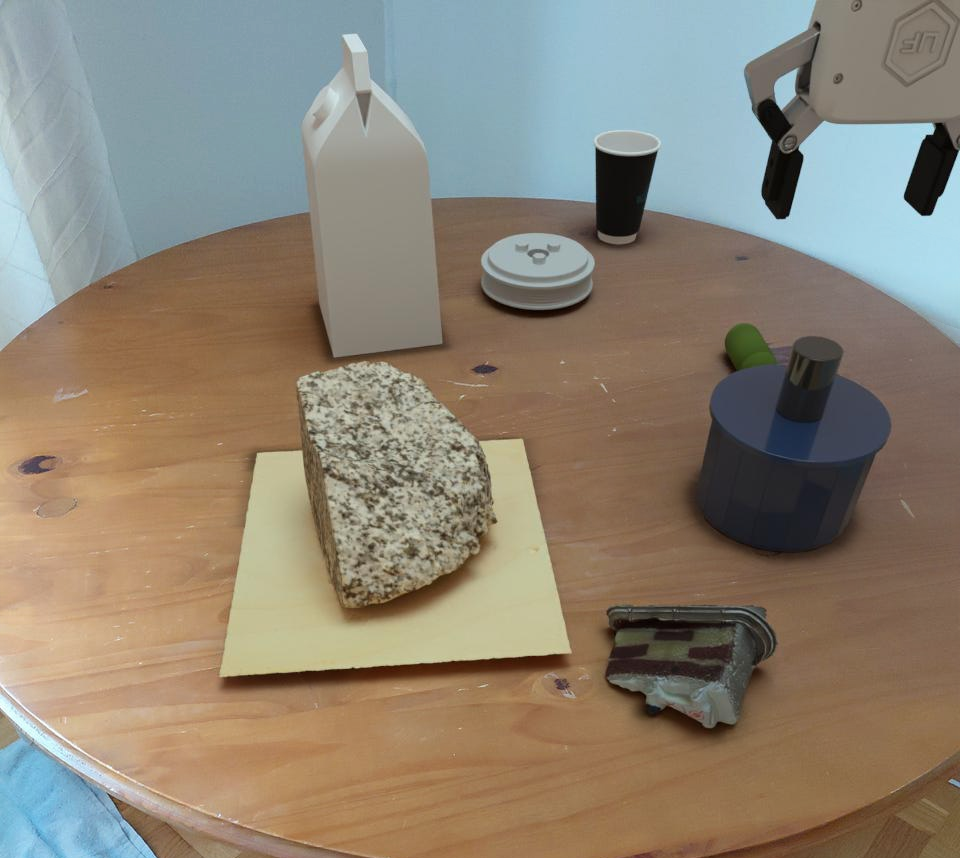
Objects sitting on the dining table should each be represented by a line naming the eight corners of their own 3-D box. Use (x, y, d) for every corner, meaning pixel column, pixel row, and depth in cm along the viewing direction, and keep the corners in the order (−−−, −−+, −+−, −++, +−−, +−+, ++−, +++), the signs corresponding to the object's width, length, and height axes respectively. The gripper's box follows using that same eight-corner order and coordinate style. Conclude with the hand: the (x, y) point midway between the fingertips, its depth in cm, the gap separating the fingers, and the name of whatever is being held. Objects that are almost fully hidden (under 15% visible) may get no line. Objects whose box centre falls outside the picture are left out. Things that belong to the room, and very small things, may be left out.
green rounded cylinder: (717, 349, 93) (724, 317, 90) (751, 348, 93) (759, 315, 90) (741, 395, 87) (749, 362, 84) (777, 394, 87) (786, 360, 84)
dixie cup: (578, 225, 114) (585, 131, 106) (638, 221, 115) (649, 127, 107) (594, 252, 109) (603, 154, 101) (656, 247, 110) (670, 150, 101)
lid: (518, 328, 96) (519, 283, 92) (461, 282, 103) (460, 238, 99) (613, 300, 100) (618, 256, 96) (552, 258, 107) (554, 215, 104)
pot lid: (848, 373, 75) (873, 300, 70) (915, 470, 65) (949, 393, 61) (689, 380, 74) (703, 307, 69) (734, 480, 65) (754, 403, 60)
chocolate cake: (565, 692, 62) (698, 673, 52) (596, 607, 64) (727, 574, 55) (656, 754, 66) (794, 747, 56) (681, 672, 69) (817, 652, 59)
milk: (442, 343, 93) (433, 57, 74) (333, 357, 92) (295, 67, 72) (420, 292, 101) (406, 21, 82) (319, 303, 99) (281, 29, 80)
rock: (250, 450, 80) (322, 290, 71) (458, 534, 89) (547, 402, 79) (209, 674, 60) (302, 493, 51) (484, 755, 69) (606, 613, 59)
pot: (818, 455, 80) (846, 370, 74) (871, 547, 71) (909, 460, 65) (680, 462, 79) (697, 377, 73) (718, 556, 71) (741, 468, 64)
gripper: (810, -118, 44) (734, 236, 56) (1145, -118, 45) (997, 230, 57) (765, -138, 49) (704, 191, 61) (1067, -138, 50) (946, 186, 62)
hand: (846, 209), depth 59 cm, fingers open, 9 cm apart
